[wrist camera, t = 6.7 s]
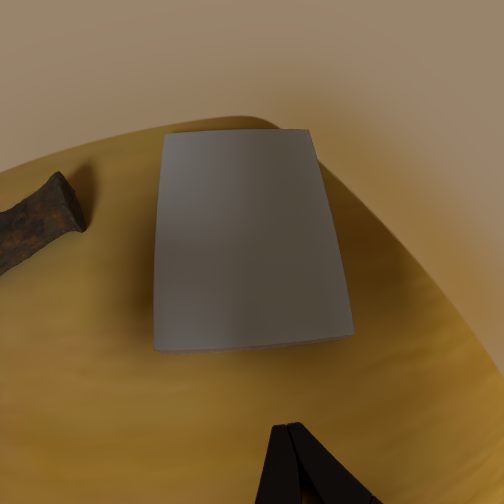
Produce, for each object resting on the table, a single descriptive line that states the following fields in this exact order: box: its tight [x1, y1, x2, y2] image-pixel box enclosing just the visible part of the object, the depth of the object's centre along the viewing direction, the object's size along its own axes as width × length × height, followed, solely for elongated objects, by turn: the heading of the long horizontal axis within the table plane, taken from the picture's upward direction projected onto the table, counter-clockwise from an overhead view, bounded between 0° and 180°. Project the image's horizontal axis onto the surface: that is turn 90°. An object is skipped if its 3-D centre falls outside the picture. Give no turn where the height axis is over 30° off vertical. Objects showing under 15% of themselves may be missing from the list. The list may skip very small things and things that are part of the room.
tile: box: [153, 129, 355, 354], centre depth 18 cm, size 2×10×14 cm
